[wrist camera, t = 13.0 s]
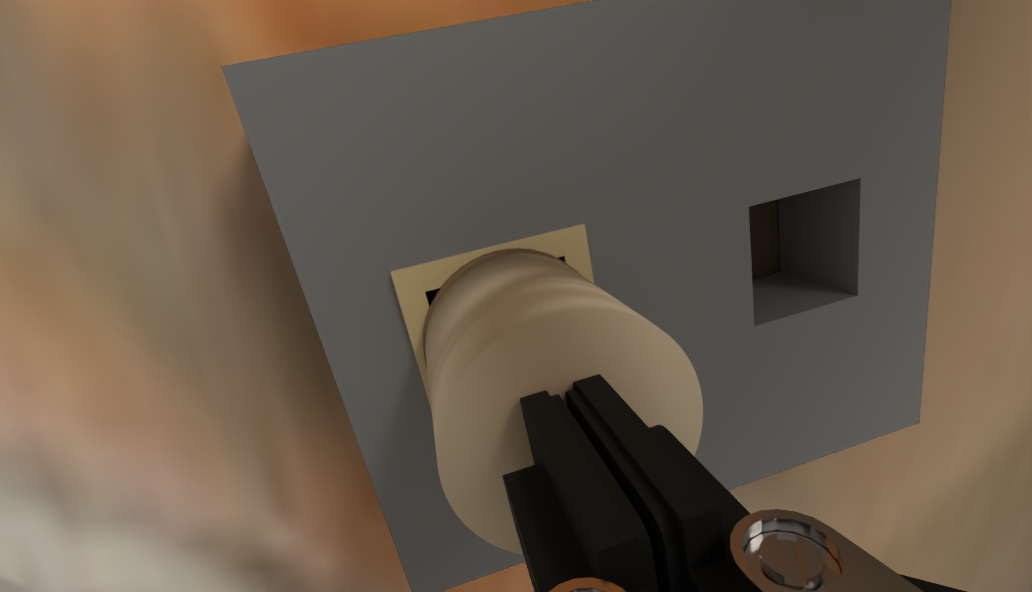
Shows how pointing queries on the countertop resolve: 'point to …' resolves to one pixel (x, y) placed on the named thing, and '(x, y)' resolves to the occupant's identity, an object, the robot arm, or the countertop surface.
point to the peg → (535, 372)
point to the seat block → (620, 213)
